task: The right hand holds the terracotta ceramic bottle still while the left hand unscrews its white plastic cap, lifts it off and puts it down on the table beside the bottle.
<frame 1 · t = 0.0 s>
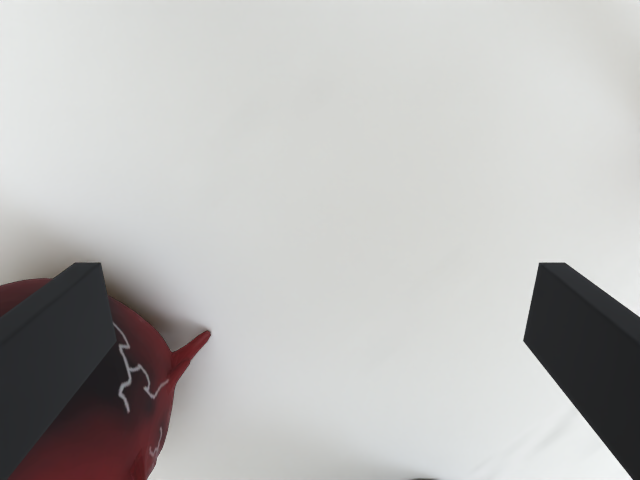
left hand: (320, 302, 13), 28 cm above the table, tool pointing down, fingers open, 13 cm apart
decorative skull: (92, 353, 47), on the table
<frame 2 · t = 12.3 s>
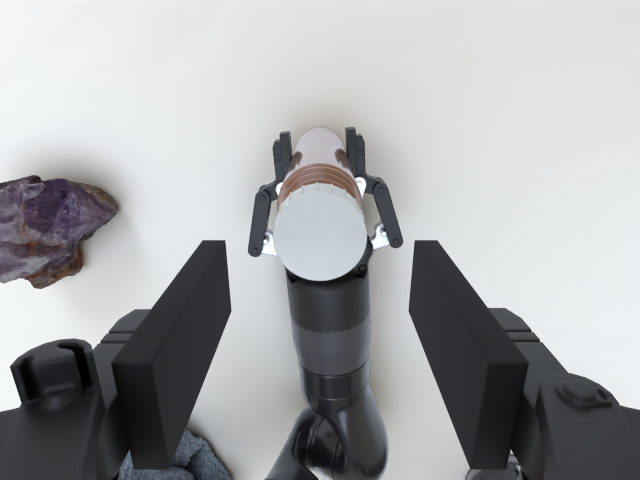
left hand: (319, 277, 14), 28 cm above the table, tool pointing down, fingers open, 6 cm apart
right hand: (317, 131, 33), fingers closed on bottle, 4 cm apart
cap: (319, 236, 18), point 24 cm above the table, screwed on, not yet turned
rock: (67, 214, 43), on the table
koala plush: (161, 454, 55), on the table
bottle: (319, 151, 41), on the table, touching right hand
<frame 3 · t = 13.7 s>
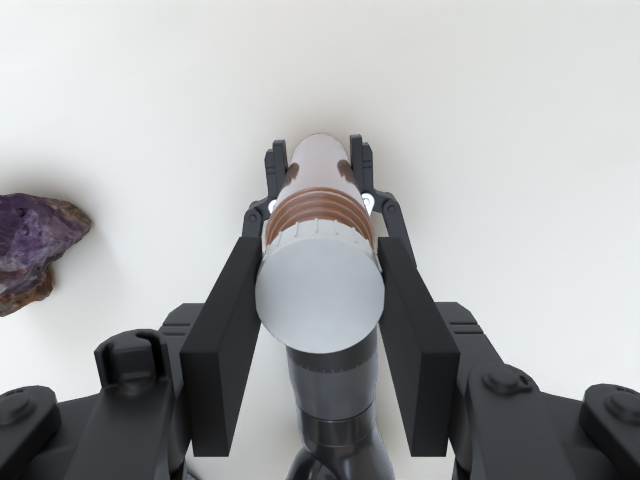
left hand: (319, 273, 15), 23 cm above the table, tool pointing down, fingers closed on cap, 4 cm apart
cap: (319, 294, 13), point 24 cm above the table, screwed on, not yet turned, touching left hand
rock: (34, 232, 38), on the table
bottle: (319, 161, 36), on the table, touching right hand
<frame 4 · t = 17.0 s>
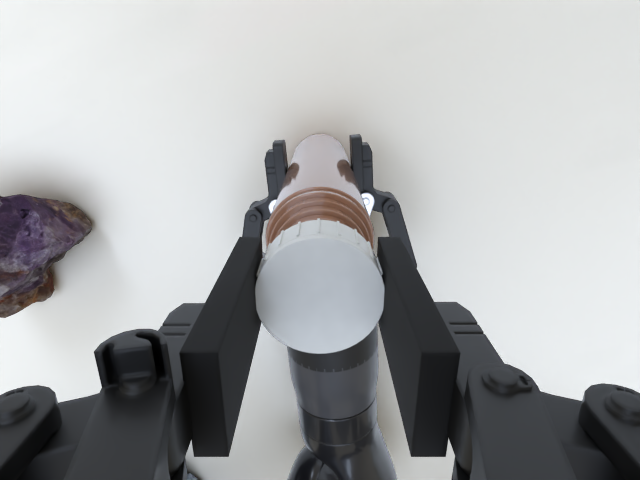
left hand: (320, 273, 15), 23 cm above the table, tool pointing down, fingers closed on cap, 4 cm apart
cap: (319, 294, 13), point 24 cm above the table, turned 106° so far, risen 0.1 cm, still on its thread, touching left hand
rock: (35, 233, 38), on the table
bottle: (319, 161, 36), on the table, touching right hand
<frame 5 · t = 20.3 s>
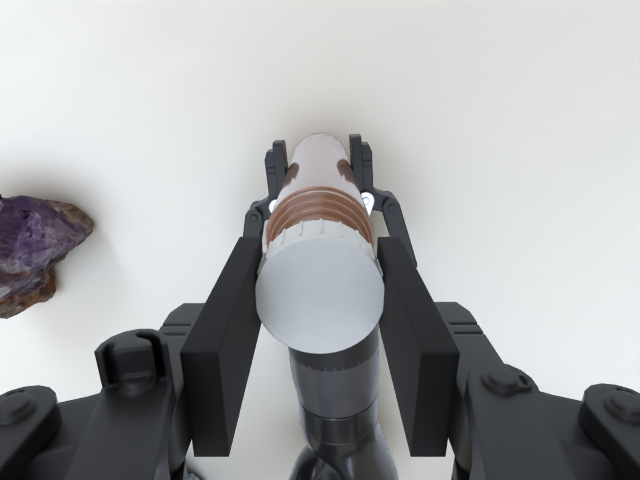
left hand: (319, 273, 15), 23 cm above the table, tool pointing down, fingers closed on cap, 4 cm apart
cap: (319, 294, 13), point 24 cm above the table, turned 211° so far, risen 0.2 cm, still on its thread, touching left hand
rock: (37, 234, 38), on the table
bottle: (319, 160, 36), on the table, touching right hand
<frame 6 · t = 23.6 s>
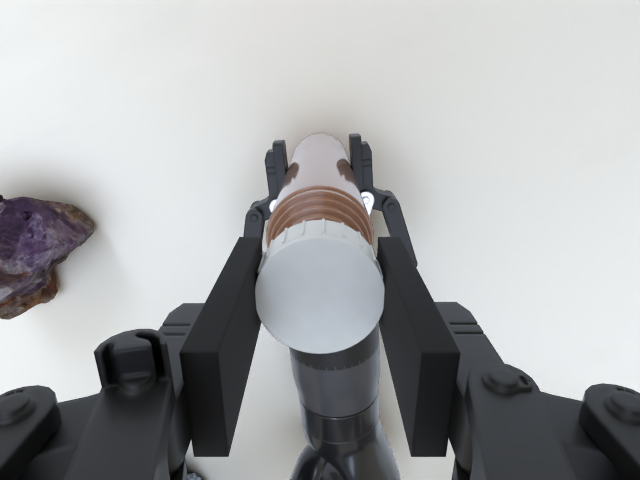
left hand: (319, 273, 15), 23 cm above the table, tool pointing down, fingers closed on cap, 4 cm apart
cap: (319, 294, 13), point 24 cm above the table, turned 317° so far, risen 0.3 cm, still on its thread, touching left hand
rock: (38, 235, 38), on the table
bottle: (319, 160, 36), on the table, touching right hand
when the left hand's fingers open (2 cm above the table, at t = 30.7 s): cap drops 2 cm, point 1 cm above the table.
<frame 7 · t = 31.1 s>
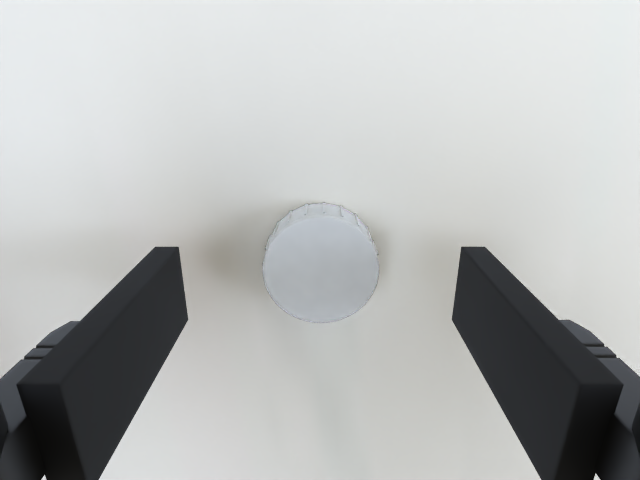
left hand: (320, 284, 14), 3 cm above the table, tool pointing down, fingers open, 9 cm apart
cap: (320, 269, 15), point 1 cm above the table, off its thread
when the right hand's fingers open (7 cm above the table, at t = 32.0 s): bottle stays where it is, on the table.
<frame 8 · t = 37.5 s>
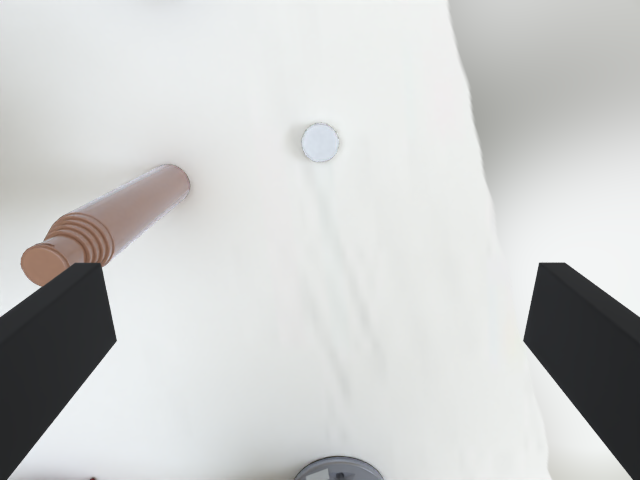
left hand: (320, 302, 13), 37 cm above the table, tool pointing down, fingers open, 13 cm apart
cap: (320, 143, 46), point 1 cm above the table, off its thread
bottle: (170, 183, 49), on the table
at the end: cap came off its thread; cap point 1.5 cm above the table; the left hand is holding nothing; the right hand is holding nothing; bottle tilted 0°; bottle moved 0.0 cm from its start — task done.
